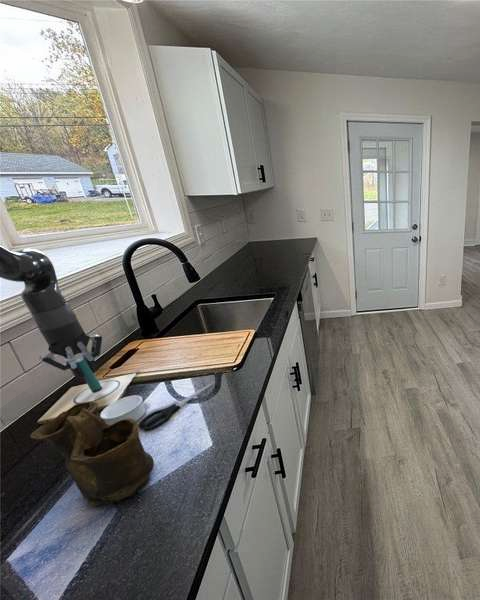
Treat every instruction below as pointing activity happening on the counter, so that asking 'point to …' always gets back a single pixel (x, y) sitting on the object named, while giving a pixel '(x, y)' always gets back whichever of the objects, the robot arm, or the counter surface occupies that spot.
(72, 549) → the counter surface
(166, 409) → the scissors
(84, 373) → the marker
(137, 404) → the ramekin
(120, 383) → the board
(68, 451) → the pottery vessel
